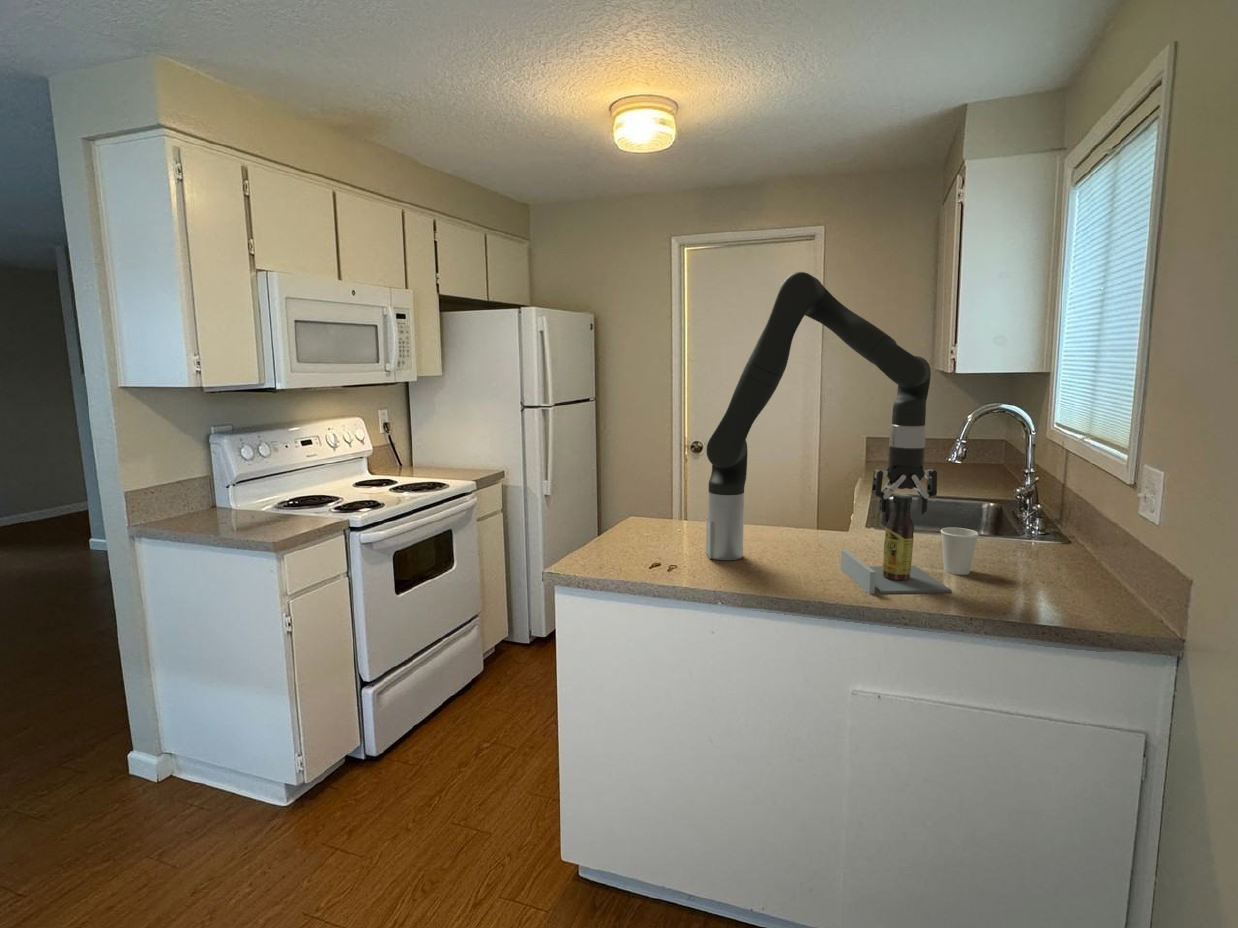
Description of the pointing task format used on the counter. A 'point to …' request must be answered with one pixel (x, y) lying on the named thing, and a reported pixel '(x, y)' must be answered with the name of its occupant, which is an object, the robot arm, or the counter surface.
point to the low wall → (858, 571)
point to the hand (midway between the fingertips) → (902, 513)
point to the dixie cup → (958, 549)
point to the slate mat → (908, 583)
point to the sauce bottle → (899, 540)
